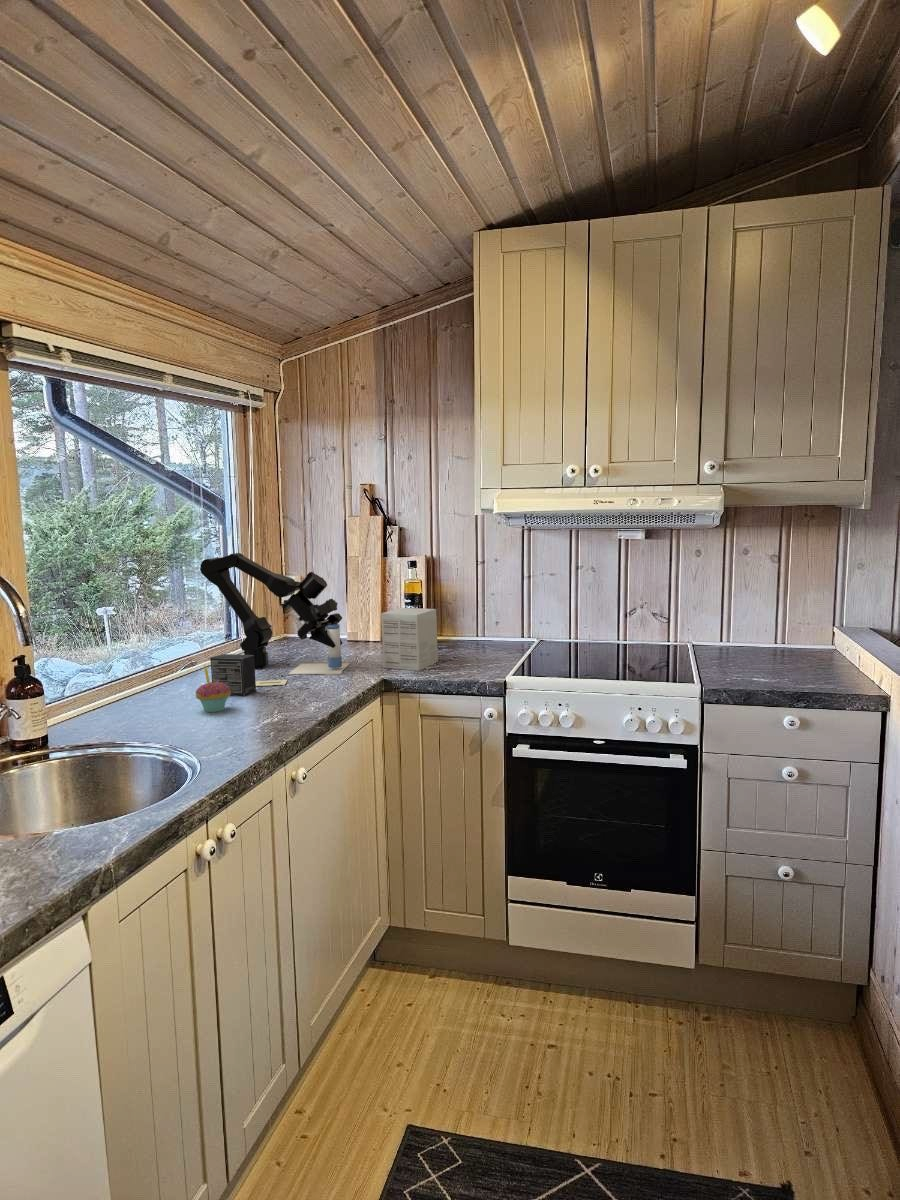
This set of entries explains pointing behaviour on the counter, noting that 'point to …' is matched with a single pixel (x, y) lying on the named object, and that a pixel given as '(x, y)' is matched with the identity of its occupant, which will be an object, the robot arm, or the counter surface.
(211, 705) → the cupcake
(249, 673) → the small box
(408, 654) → the supplement box
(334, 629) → the cylinder
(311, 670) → the notepad
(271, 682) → the word card
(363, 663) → the counter surface
